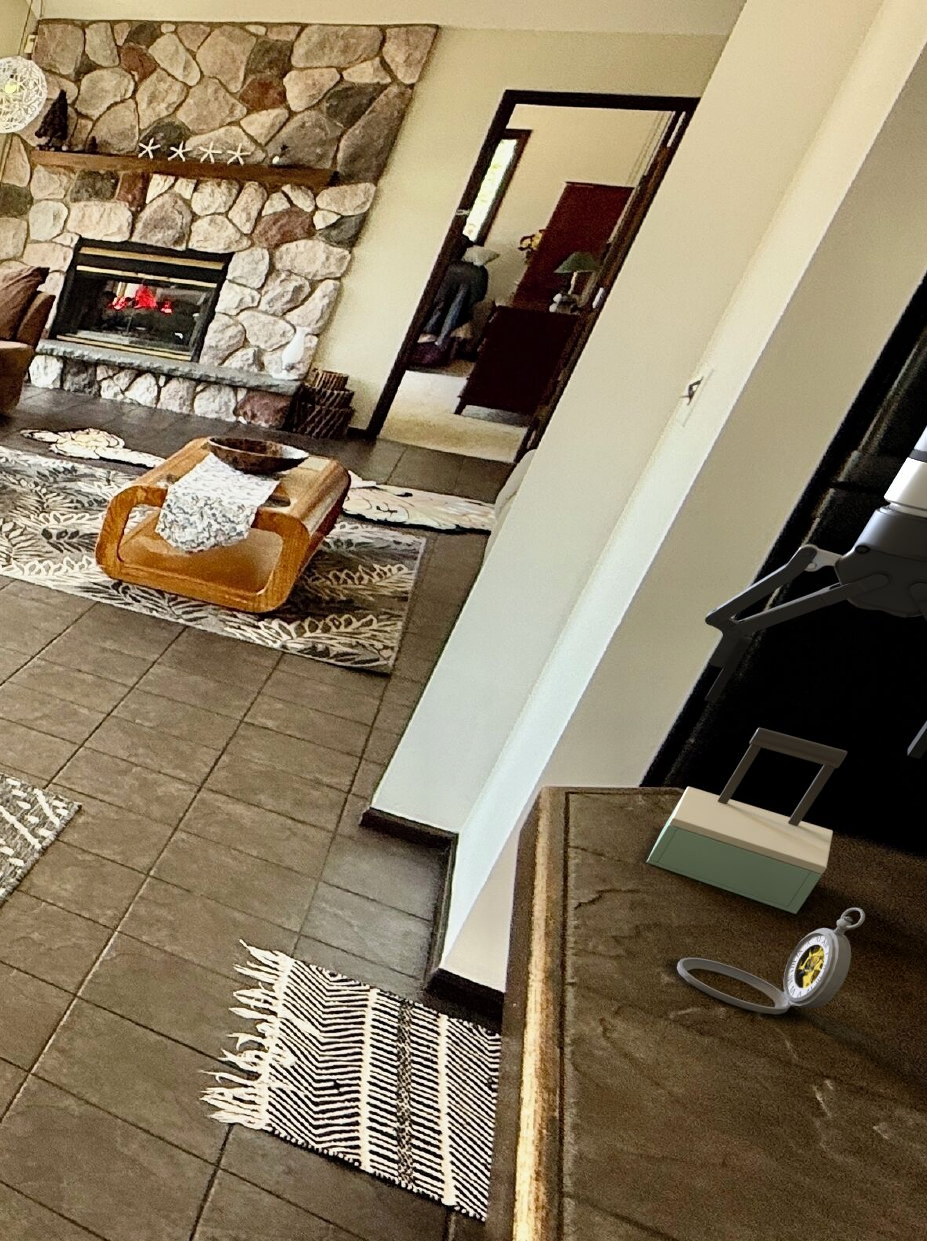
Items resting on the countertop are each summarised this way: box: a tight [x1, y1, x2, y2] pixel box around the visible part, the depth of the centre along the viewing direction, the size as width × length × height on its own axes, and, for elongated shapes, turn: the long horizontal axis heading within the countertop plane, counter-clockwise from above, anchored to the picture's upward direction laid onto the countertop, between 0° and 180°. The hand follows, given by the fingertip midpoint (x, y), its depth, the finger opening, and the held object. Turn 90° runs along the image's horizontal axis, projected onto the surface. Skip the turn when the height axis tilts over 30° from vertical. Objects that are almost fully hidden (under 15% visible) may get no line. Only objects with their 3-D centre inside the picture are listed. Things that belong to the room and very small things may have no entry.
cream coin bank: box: [669, 727, 848, 875], centre depth 113 cm, size 12×10×9 cm
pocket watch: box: [676, 907, 866, 1015], centre depth 95 cm, size 8×8×10 cm
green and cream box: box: [646, 796, 823, 915], centre depth 116 cm, size 11×10×5 cm
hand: (808, 725), depth 113 cm, fingers open, 13 cm apart
